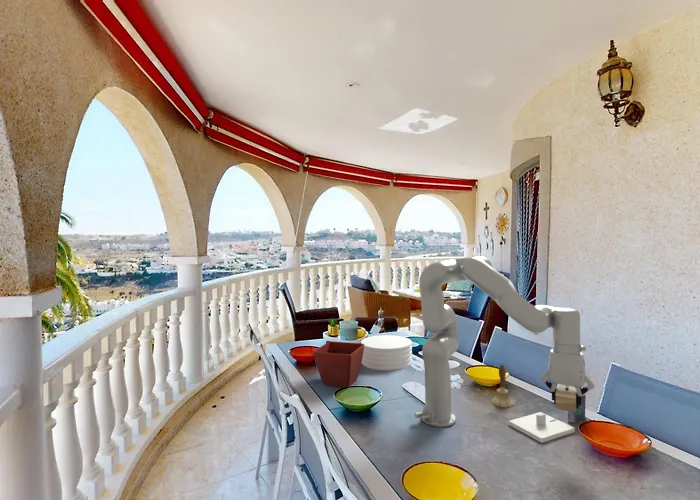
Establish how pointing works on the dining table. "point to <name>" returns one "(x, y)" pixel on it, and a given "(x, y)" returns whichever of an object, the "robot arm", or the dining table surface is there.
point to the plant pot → (339, 362)
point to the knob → (566, 398)
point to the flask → (577, 412)
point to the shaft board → (541, 427)
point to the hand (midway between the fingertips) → (566, 404)
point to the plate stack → (387, 352)
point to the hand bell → (502, 391)
